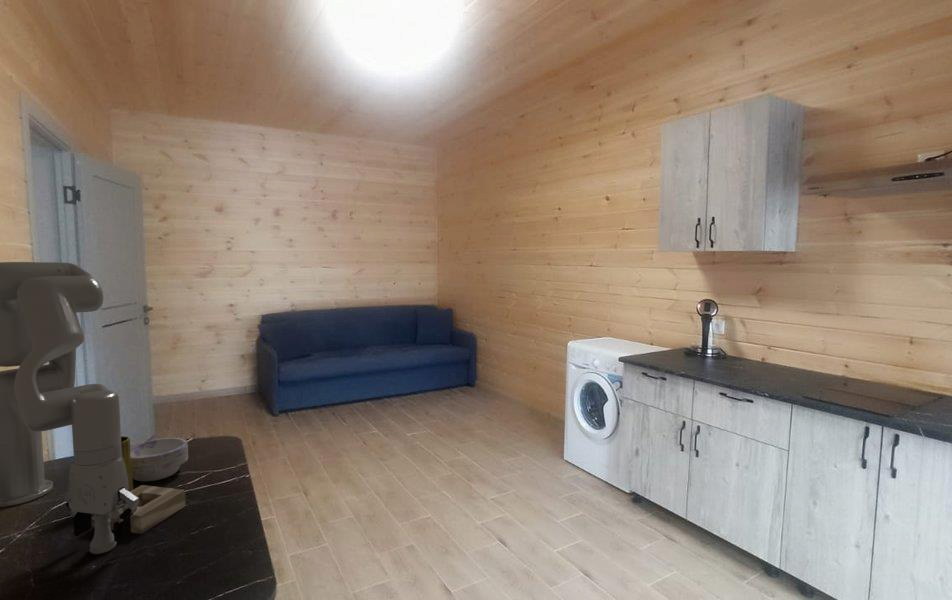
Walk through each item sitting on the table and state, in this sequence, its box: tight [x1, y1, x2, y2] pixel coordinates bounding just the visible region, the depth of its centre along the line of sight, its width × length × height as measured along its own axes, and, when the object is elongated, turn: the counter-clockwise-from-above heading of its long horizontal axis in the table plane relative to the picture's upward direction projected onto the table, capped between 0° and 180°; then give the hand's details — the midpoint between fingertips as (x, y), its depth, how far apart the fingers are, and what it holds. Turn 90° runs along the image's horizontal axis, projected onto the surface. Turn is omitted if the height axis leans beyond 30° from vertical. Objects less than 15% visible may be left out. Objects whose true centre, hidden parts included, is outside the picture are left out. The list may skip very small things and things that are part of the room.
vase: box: [121, 435, 135, 492], centre depth 119 cm, size 6×6×14 cm
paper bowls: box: [130, 437, 189, 483], centre depth 131 cm, size 15×15×8 cm
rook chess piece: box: [88, 513, 118, 555], centre depth 97 cm, size 4×4×8 cm
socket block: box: [109, 484, 186, 535], centre depth 109 cm, size 12×12×4 cm
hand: (102, 535), depth 97 cm, fingers open, 9 cm apart
